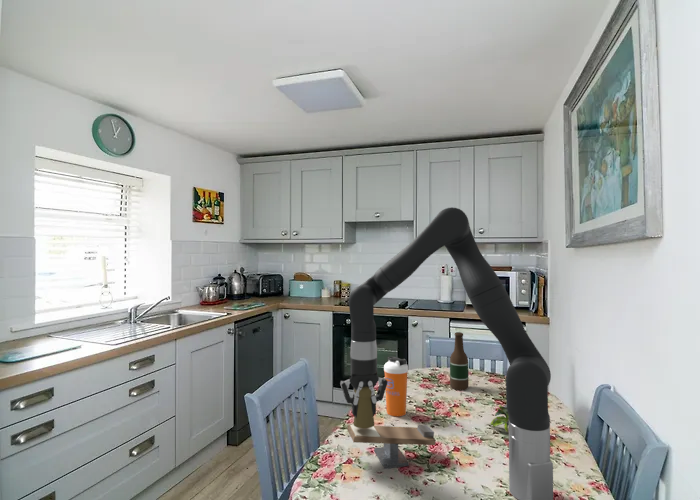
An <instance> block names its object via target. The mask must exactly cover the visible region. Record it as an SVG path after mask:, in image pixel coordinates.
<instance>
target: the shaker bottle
mask: <svg viewBox="0 0 700 500" xmlns="http://www.w3.org/2000/svg"><path fill="white" fill-rule="evenodd" d="M387 360H388V361H387V362H385V364H384V365H383V371H384V378H385V379H386V380H387V381H388V383H387V386H386V389H385V402H386V407H385V409H386V414H387V415H388V416H391V417H396V418H397V417H403V416H405V415H406V413H407V397H408V395H407V393H408V392H407V391H408V390H407V389H408V373H409V366H408V364H407V363H408V362H407V359H405V358H399V357H396V356H388V357H387Z"/></svg>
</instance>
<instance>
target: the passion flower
mask: <svg viewBox="0 0 700 500" xmlns="http://www.w3.org/2000/svg"><path fill="white" fill-rule="evenodd" d="M502 425H504V430H505V431H506V432H507V433H509V414H508V411H507V404H505V405H503V406H502V405H501V404H499V405H498V408H497V412H496V413H495V414H494V418H493V420H491V422H490V426H491V427H493V428H496V427H499V426H502Z"/></svg>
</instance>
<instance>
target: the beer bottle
mask: <svg viewBox="0 0 700 500" xmlns="http://www.w3.org/2000/svg"><path fill="white" fill-rule="evenodd" d="M463 337H464V332H461V331H457V332H454V349H453V352H452V353H450V357H449V385H450V386H449V387H450V388H452V390H455V391H466V390H467V389H469V358H468V355H467V353H466V352H465V351H464V350H465V349H464V348H465V347H464V338H463Z"/></svg>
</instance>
